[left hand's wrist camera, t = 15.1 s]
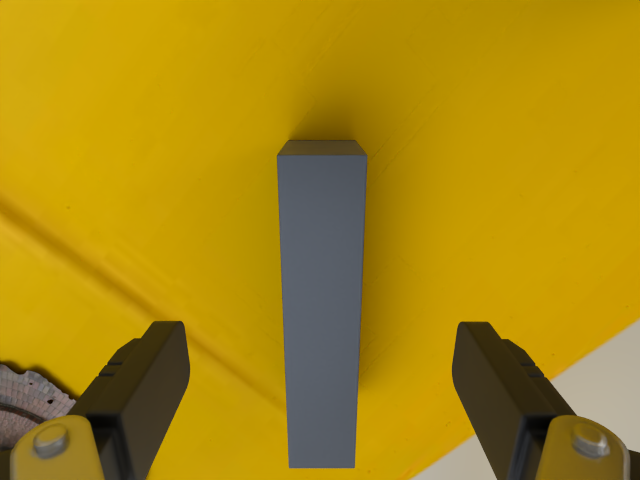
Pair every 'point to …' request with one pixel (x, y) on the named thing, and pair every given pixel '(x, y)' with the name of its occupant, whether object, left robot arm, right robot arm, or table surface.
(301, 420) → the long box
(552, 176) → the table surface
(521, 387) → the left robot arm
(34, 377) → the stone sculpture
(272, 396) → the table surface
